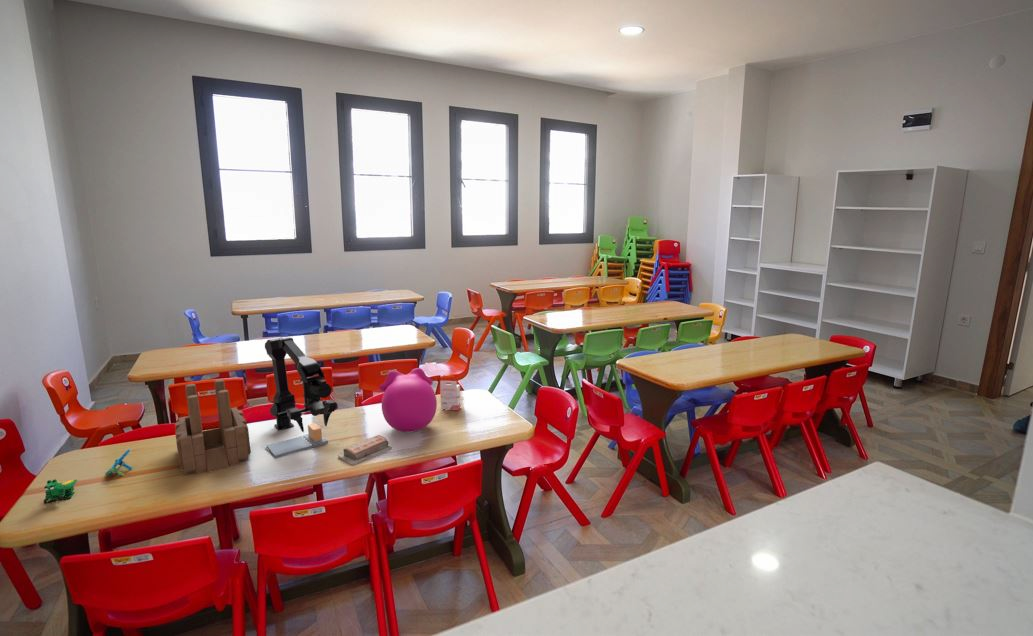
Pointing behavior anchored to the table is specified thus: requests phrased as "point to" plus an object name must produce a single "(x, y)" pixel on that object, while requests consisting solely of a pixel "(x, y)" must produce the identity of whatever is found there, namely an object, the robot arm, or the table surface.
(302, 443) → the ticket board
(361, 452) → the packaged product
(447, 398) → the ink cartridge box
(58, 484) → the crocodile
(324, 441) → the stub
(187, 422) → the wooden toy structure
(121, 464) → the blue green toy
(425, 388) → the figurine
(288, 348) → the robot arm
